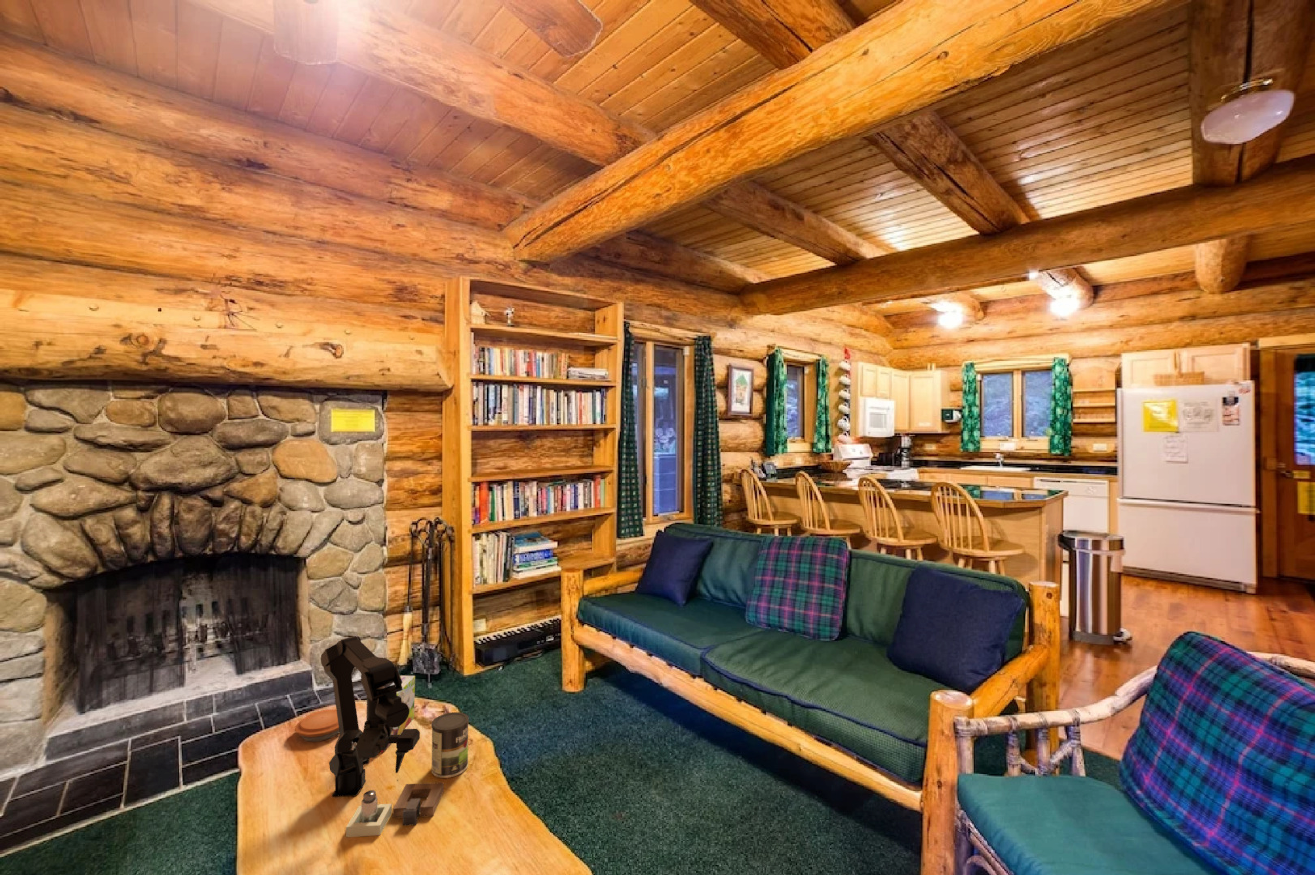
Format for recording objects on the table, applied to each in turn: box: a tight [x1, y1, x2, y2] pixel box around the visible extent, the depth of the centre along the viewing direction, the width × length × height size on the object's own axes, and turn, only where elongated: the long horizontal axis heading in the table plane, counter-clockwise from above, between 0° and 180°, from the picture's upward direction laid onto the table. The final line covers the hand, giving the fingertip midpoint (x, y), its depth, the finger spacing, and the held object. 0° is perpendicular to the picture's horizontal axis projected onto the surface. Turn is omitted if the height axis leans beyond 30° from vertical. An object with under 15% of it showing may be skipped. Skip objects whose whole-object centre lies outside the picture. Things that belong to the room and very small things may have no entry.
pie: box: [294, 708, 340, 743], centre depth 186 cm, size 16×16×5 cm
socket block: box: [392, 781, 445, 819], centre depth 152 cm, size 10×10×2 cm
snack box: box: [380, 675, 416, 753], centre depth 186 cm, size 21×6×15 cm, turn 179°
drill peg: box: [360, 789, 378, 823], centre depth 144 cm, size 4×4×8 cm
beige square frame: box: [345, 803, 393, 838], centre depth 144 cm, size 8×8×2 cm
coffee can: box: [431, 711, 470, 779], centre depth 168 cm, size 10×10×14 cm
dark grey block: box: [402, 798, 422, 826], centre depth 147 cm, size 3×5×4 cm, turn 6°
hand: (378, 772), depth 146 cm, fingers open, 9 cm apart
